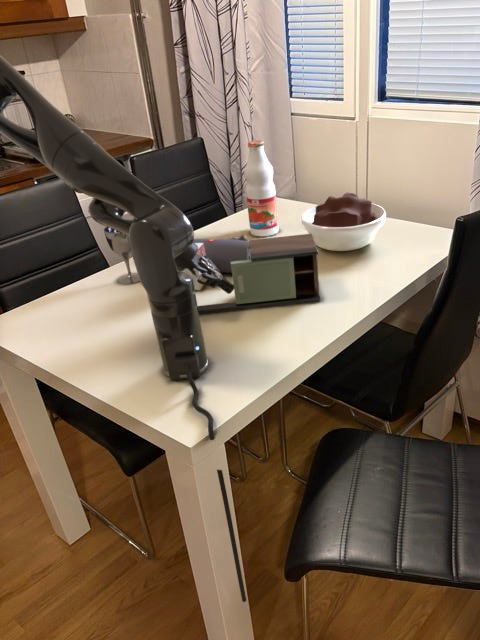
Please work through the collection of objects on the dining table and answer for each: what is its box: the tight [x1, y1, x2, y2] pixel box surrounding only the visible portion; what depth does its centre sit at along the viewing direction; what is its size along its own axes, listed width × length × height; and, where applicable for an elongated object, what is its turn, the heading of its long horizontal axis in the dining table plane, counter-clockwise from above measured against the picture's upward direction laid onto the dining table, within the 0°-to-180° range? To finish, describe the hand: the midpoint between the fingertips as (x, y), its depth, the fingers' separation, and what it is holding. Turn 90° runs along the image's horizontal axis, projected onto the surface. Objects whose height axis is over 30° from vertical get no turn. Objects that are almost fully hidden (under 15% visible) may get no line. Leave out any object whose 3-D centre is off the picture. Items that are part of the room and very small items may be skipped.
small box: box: [177, 243, 206, 291], centre depth 159 cm, size 8×6×10 cm
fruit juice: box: [243, 139, 280, 237], centre depth 185 cm, size 9×9×28 cm
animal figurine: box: [229, 233, 249, 241], centre depth 181 cm, size 12×4×5 cm
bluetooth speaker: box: [193, 238, 251, 274], centre depth 166 cm, size 23×9×10 cm
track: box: [197, 246, 321, 315], centre depth 144 cm, size 3×32×13 cm, turn 95°
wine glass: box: [103, 226, 140, 285], centre depth 164 cm, size 8×8×15 cm
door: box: [231, 257, 296, 304], centre depth 144 cm, size 2×15×11 cm, turn 95°
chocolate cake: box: [300, 192, 387, 252], centre depth 174 cm, size 25×25×15 cm
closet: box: [248, 233, 320, 295], centre depth 150 cm, size 10×16×13 cm, turn 95°
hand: (232, 290), depth 145 cm, fingers closed
